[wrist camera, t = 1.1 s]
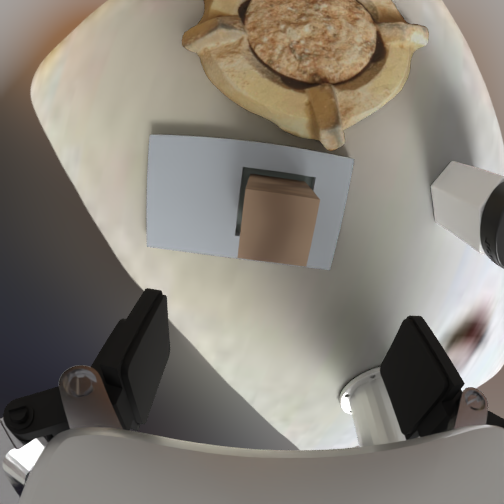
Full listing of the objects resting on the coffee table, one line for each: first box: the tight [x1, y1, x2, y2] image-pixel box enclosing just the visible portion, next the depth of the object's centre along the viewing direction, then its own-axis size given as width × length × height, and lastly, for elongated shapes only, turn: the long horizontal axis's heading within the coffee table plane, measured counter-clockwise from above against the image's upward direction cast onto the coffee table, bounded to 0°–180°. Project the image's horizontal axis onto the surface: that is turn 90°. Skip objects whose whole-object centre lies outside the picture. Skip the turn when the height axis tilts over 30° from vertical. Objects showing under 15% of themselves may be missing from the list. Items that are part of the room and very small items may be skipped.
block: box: [237, 174, 320, 267], centre depth 25 cm, size 6×6×8 cm
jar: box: [431, 161, 504, 268], centre depth 22 cm, size 9×8×12 cm
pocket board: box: [147, 134, 354, 270], centre depth 28 cm, size 20×12×2 cm, turn 83°
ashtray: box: [182, 0, 429, 151], centre depth 19 cm, size 24×24×5 cm
